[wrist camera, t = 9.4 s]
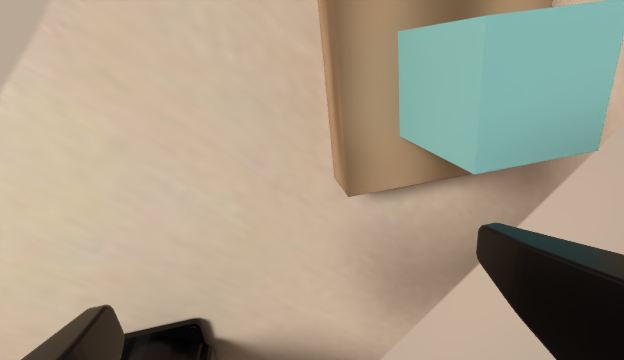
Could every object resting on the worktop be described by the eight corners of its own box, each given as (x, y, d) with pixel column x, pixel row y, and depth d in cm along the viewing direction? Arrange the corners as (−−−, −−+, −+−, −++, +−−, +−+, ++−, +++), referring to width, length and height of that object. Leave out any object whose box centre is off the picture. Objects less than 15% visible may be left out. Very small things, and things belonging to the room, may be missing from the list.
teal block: (399, 136, 17) (474, 174, 11) (397, 31, 15) (486, 15, 9) (486, 121, 17) (597, 150, 12) (495, 18, 16) (631, -3, 10)
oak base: (334, 178, 20) (348, 196, 17) (315, -25, 16) (329, -42, 13) (492, 149, 22) (528, 163, 19) (512, -44, 18) (561, -62, 15)
